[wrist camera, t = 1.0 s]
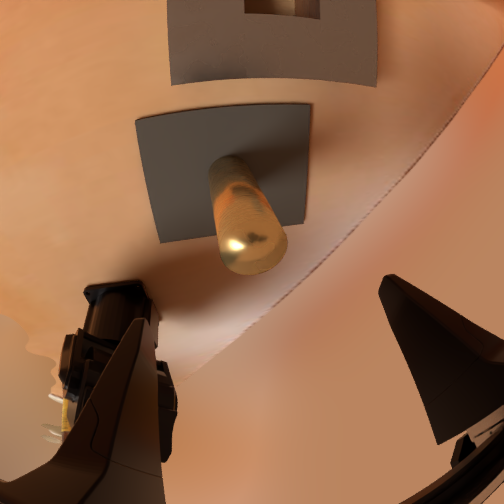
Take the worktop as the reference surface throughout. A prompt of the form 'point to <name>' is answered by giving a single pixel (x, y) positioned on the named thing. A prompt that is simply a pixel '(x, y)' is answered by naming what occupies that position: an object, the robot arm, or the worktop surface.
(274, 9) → the worktop surface
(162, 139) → the mat
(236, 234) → the pin
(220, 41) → the block
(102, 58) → the worktop surface
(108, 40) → the worktop surface
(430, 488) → the robot arm
